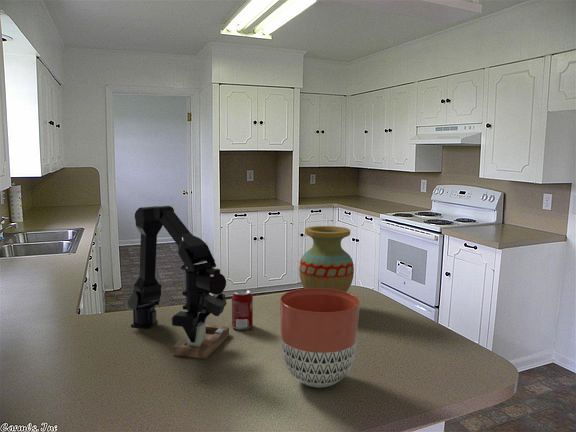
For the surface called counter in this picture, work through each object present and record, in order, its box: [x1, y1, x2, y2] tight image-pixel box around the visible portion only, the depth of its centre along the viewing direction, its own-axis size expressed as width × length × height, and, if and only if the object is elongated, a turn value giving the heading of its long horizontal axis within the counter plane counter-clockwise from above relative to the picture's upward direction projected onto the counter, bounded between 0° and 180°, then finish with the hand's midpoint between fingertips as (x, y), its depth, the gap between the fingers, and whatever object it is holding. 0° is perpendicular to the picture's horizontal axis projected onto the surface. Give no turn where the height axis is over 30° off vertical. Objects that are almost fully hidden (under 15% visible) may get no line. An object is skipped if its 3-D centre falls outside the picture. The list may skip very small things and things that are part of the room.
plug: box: [187, 322, 207, 347], centre depth 132 cm, size 4×4×6 cm
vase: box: [298, 225, 355, 292], centre depth 167 cm, size 20×20×30 cm
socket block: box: [172, 324, 230, 360], centre depth 137 cm, size 10×18×3 cm, turn 167°
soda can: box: [231, 288, 254, 331], centre depth 150 cm, size 7×7×12 cm
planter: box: [279, 287, 361, 389], centre depth 114 cm, size 20×20×21 cm
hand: (196, 339), depth 133 cm, fingers closed on plug, 4 cm apart
